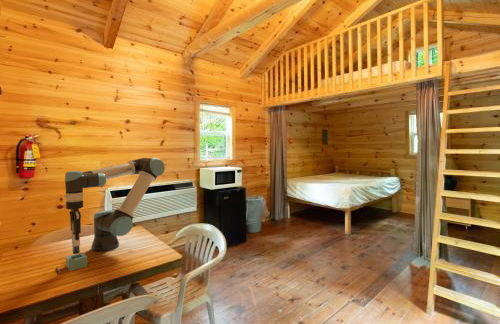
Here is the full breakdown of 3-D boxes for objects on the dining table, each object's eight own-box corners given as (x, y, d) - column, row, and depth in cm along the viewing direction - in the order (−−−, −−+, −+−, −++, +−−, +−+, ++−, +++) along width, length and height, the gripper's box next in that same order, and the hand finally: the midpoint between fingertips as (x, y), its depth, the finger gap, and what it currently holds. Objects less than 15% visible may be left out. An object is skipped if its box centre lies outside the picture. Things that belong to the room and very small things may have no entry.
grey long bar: (72, 252, 138) (71, 220, 137) (78, 251, 140) (77, 219, 139) (73, 254, 136) (72, 221, 135) (80, 252, 138) (79, 220, 137)
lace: (55, 268, 135) (55, 266, 135) (58, 268, 136) (58, 266, 136) (58, 273, 130) (58, 271, 130) (60, 273, 130) (60, 271, 130)
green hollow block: (66, 265, 139) (65, 256, 138) (83, 261, 144) (83, 252, 144) (69, 270, 133) (69, 261, 133) (87, 266, 139) (87, 256, 138)
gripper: (62, 199, 140) (64, 242, 141) (69, 204, 128) (70, 250, 130) (79, 197, 145) (80, 239, 146) (86, 201, 134) (88, 247, 135)
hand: (76, 244), depth 138 cm, fingers closed on grey long bar, 3 cm apart
